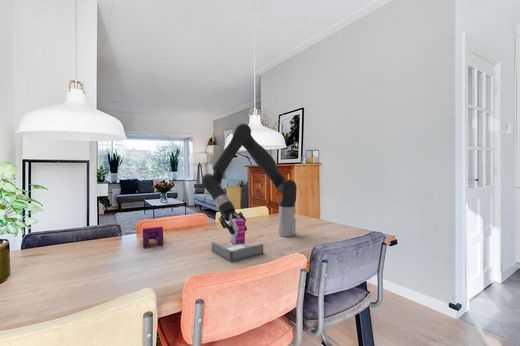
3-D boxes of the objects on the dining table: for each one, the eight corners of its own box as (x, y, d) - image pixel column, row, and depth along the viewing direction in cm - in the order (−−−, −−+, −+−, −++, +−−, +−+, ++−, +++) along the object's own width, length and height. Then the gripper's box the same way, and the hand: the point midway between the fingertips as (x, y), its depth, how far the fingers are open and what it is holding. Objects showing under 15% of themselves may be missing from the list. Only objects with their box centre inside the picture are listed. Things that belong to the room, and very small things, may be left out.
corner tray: (242, 244, 139) (242, 235, 139) (263, 253, 125) (263, 244, 124) (211, 250, 128) (211, 241, 128) (230, 262, 114) (230, 252, 114)
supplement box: (233, 245, 124) (234, 221, 124) (230, 241, 130) (230, 218, 129) (245, 244, 127) (245, 220, 126) (241, 240, 132) (241, 218, 132)
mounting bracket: (142, 251, 145) (143, 245, 130) (142, 235, 148) (142, 228, 133) (161, 248, 149) (163, 243, 134) (160, 233, 152) (162, 226, 137)
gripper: (216, 202, 127) (232, 230, 120) (238, 199, 138) (254, 225, 130) (209, 211, 131) (224, 239, 124) (231, 208, 142) (246, 233, 134)
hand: (239, 232), depth 127 cm, fingers closed on supplement box, 7 cm apart
